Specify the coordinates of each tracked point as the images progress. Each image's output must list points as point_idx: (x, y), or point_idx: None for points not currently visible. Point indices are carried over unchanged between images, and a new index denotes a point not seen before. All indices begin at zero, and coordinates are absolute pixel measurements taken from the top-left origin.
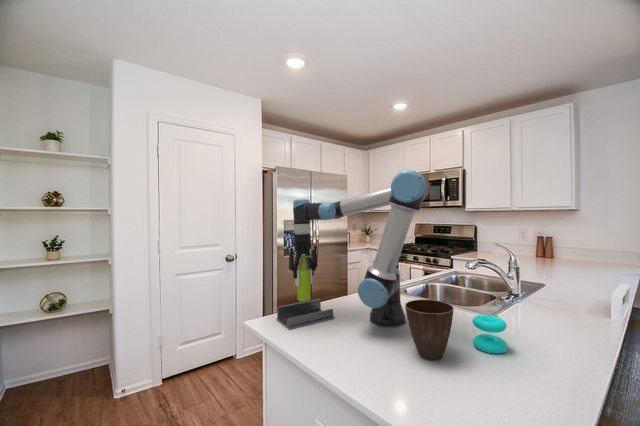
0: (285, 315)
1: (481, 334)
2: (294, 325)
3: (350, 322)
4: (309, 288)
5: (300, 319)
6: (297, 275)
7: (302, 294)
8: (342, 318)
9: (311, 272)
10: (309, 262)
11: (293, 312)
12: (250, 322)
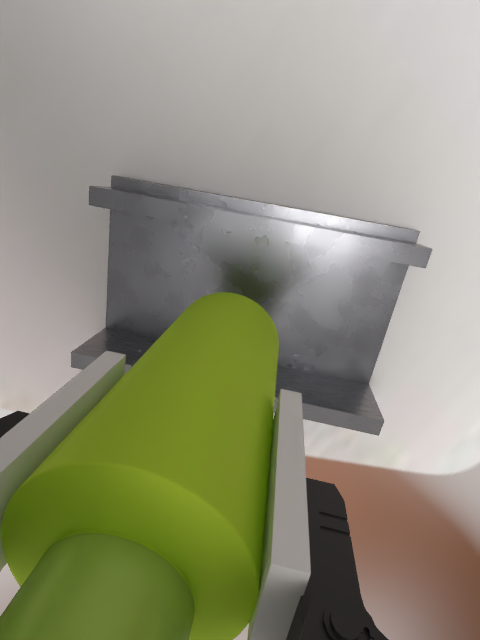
0: (325, 379)
1: None
2: (376, 234)
3: (75, 47)
4: (171, 331)
5: (337, 230)
6: (306, 500)
7: (261, 331)
8: (76, 144)
9: (10, 443)
10: None
11: None
12: (472, 465)
